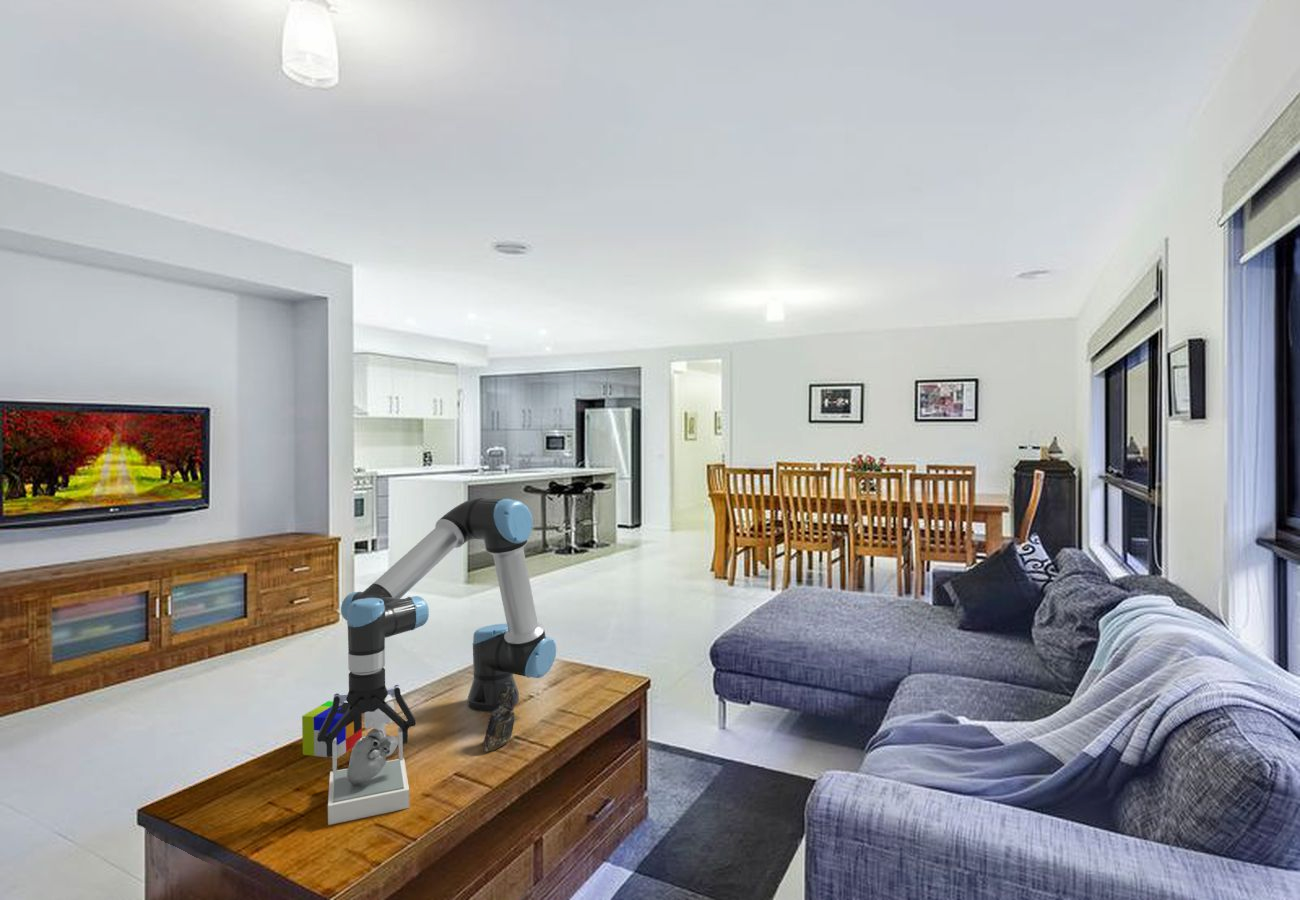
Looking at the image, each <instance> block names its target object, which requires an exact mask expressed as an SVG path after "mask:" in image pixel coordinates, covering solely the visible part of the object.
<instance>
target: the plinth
mask: <svg viewBox="0 0 1300 900" xmlns="http://www.w3.org/2000/svg"><path fill="white" fill-rule="evenodd" d="M347 770H348V768H343V769H337V772H336V773H333V770H331V771H329V784H328V785H329V786H328V797H327V824H328V826H330V825H335V824H339V823H345V822H349V821H354V820H359V819H363V818H369V817H372V816H378V815H382V814H386V813H392V812H397V811H402V810H406V809H409V808H410V788H409V781H408V773H407V767H406V761H405V757H403V760H401V761H399V758H397V759H391V760H386V763H385V765H384V766H383V767H382V769H381V771H380V772H379V773H378V774H377V775H375V776H374V777H373V778H371V779H370V780H368V781H366V782H363V783H361V784H358V785H355V786H353V785H352V784H351V783H350V782H349V781H348V778H347Z"/></svg>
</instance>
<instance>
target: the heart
mask: <svg viewBox="0 0 1300 900" xmlns="http://www.w3.org/2000/svg"><path fill="white" fill-rule="evenodd" d="M390 745H391V743H390V742H389V741H388V739H387V738H384V735H383V732H382V731H381V730H380V731H379V730H377V729H372V728H371V730H370V731H368V732H367V734H366V735H365V736H362V738H360V739H359V740H358V741H357V742H356V743H355V744H354V746H353V748H351V752H350V755H349V762H348V767H347V769H348V770H347V778H348V781H349V782H350V783H351V784H352V785H353V786H355V785H358V784H361V783H363V782H366V781H368V780H370V779H371V778H373V777H374V776H375V775H377V774H378V773H379V772H380V771H381V769H382V767H383V766H384V765H385V763H386V761H387V757H386V755H387V754H389V753H390V750H389V749H390Z"/></svg>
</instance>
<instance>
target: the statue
mask: <svg viewBox="0 0 1300 900" xmlns="http://www.w3.org/2000/svg"><path fill="white" fill-rule="evenodd" d="M514 689H515V688H514V684H513V683H508V682H506V683H505V684H504V687H503V690H501V692H500V694H499V697H498V699H497V702H496V706H499V707H498V708H497V709H495V710H493V711H492V712H490V714H489V717H488V721H487V727H486V731H485V736H484V739H483V741H482V746H483V750H484V751H485V752H491V751H495V750H497V749H500V747H503V746H504V745H506V744H507V743H508V742H509V741H510V740H511V737H512V735H513V730H514V723H515V713H514V712H513V711H514V709H515V705H514V703H515V693H514Z"/></svg>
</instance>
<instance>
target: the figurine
mask: <svg viewBox="0 0 1300 900" xmlns="http://www.w3.org/2000/svg"><path fill="white" fill-rule="evenodd" d="M384 701H385V702H386V699H385V700H384ZM386 703H387V704H388V705H389V706H390V707H391V708H392V709H393V710H394V711H395V701H388V702H386ZM363 715H364V716H363V722H364V723H363V724H364V725H363V726H364V727H363V728H364V729H365V730H370V729H372V728H373V729H377V730H379V731H380V730H381V731H382V732H383V735H384V738H387V739H388V741H389V742H390V743H391V745H390V749H389V750H390V753H389V754H387V755H386V758H388V757H390V756H391V755H393V754H394V753H395V750H396V749H397V746H398V737H397V736H393V735H389V734H386V725H391V724H393V722H394V721H393V720H391V719H390V718H389V717H388V716H387V715H386V714H385V713H384V712H382V711H381V710H380V709H379V708H378V709H377V710H375V711H374V712H365V713H363Z"/></svg>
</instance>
